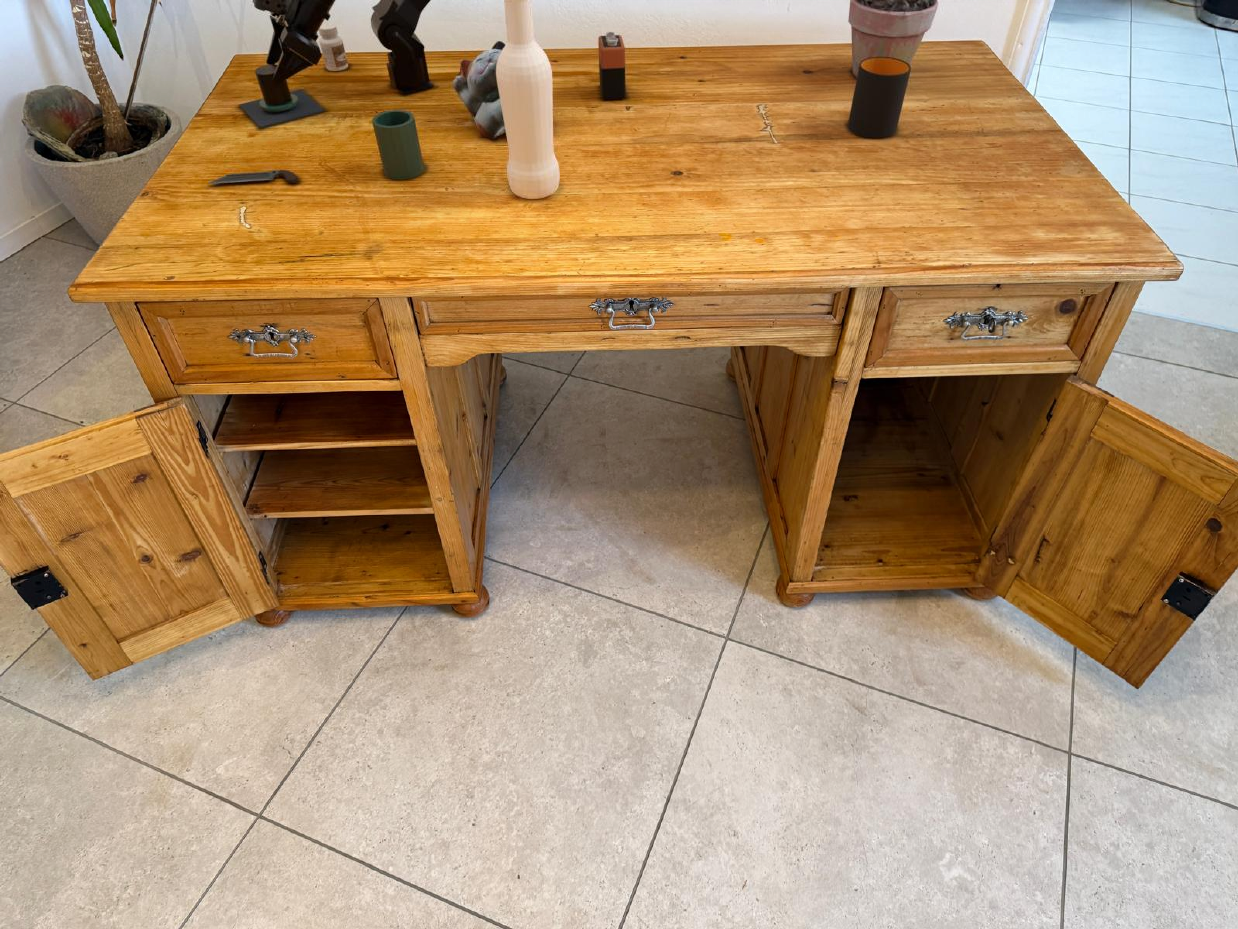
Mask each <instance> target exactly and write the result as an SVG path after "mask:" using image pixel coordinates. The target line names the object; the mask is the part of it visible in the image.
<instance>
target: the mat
mask: <svg viewBox="0 0 1238 929" xmlns="http://www.w3.org/2000/svg"><path fill="white" fill-rule="evenodd" d="M290 93H291V94H293V95H296V96H297V98H298V101H299V102H298V104H297V105H296V106H295V107H293V108H290V109H288V110H285V111H280V112H271V111H265V110H263V109H261V107H260V104H259V103H260V101H261V100H262V99H263V98H260V99H256V100H255V99H254V100H251V101H248V102H244V103H240V104H238V107H239V108H240V109H241V110H242V111H243V112H244V113H245V115H247V116H248V118H249V119H250V120H251V121H252V122H253V123H254V124H255V125H256V126H257V127H258V128H259V129H260V130H262V129H265V128H269V127H273V126H277V125H280V124H284V123H288V122H292V121H295V120H300V119H303V118H307V117H311V116H314V115H318V114H323V113H325V109H324V108H323V107H322V106H321V105H320V104H318V103H317V101H315V100H314V99H313V98H312V97H311V96H310V95H309V94H308V93H307V92H305V91H304V90H303V88H299V89H295V90H292V91H291V90H290Z"/></svg>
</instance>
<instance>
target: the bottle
mask: <svg viewBox="0 0 1238 929" xmlns="http://www.w3.org/2000/svg"><path fill="white" fill-rule="evenodd" d="M531 3H532V2H531V0H503V4H504V15H505V16H504V17H505V28H506V43H505V47H504V48H503V50H502V51H501V53H500V55H499V58H498V61H497V65H496V78H497V84H498V90H499V96H500V102H501V107H502V113H503V119H504V124H505V130H506V132H505V136H506V141H507V147H508V155H509V156H508V161H507V164H506V175H507V176H506V178H507V182H508V185H509V188H510V191H511V192H512V193H513V194H514V195H515V196H517V197H519V198H522V199H525V200H526V199H527V200H539V199H544V198H547V197H549V196H552V195H553V194H555V193H556V191H557V190H558V188H559V185H560V180H561V179H560V178H561V175H560V174H561V173H560V165H559V162H558V159H557V158H556V155H555V150H554V149H555V148H554V106H553V104H554V102H553V98H554V97H553V96H554V95H553V94H554V93H553V69H552V66H551V62H550V60H549V57H548V55H547V53H546V52H545V51H544V50H543V48H542V47H541V46H540V45H539V43H538V42H537V41H536V39H535V32H534V23H533V21H534V20H533V13H532V12H533V11H532V4H531Z"/></svg>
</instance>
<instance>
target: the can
mask: <svg viewBox="0 0 1238 929" xmlns="http://www.w3.org/2000/svg"><path fill="white" fill-rule="evenodd" d="M415 119H416V118H415V115H414V114H413V113H412V112H411V111H407V110H404V109H392V110H386V111H383V112H380V113H378V114H376V115H375V116H374V117H373V118H372V120H371V123H372V127H373V131H374V136H375V139H376V144H377V149H378V153H379V157H380V161H381V165H382V169H383V173H384V175H385V176H386V177H387V178H389V179H392V180H398V181H405V180H410V179H414V178H417V177H418V176H420V175H421V174H422V173H423V172H424V171H425V166H424V160H423V159H424V158H423V155H422V150H421V149H422V148H421V145H420V140H419V134H418V129H417V125H416V120H415Z"/></svg>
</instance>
